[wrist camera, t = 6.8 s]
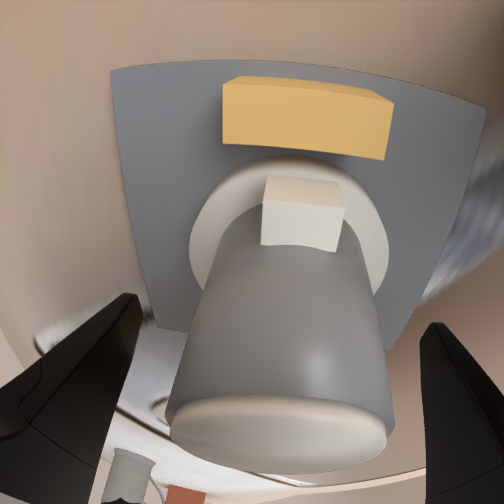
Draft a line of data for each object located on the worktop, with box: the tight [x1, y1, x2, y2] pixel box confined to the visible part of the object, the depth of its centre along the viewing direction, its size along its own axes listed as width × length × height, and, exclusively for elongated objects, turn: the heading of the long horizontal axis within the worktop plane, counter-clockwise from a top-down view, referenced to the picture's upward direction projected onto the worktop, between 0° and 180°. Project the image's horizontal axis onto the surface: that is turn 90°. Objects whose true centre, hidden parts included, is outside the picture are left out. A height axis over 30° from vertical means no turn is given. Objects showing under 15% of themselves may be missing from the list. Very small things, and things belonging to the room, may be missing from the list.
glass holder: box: [101, 448, 165, 504], centre depth 43 cm, size 9×14×15 cm, turn 44°
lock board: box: [111, 60, 487, 350], centre depth 11 cm, size 13×13×4 cm
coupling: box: [165, 175, 395, 475], centre depth 8 cm, size 7×5×6 cm
